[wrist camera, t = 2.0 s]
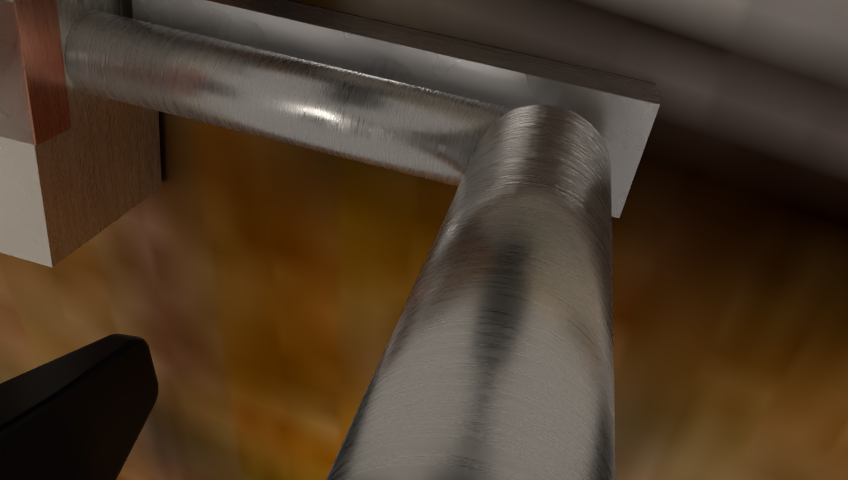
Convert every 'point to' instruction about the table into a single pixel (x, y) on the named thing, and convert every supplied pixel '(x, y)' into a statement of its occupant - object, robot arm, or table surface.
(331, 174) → the table surface
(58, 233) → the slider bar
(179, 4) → the slider rail
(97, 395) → the robot arm
